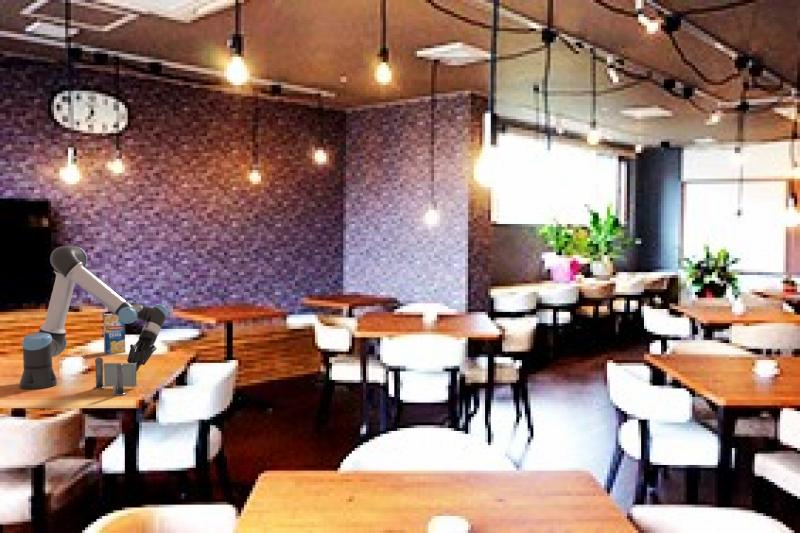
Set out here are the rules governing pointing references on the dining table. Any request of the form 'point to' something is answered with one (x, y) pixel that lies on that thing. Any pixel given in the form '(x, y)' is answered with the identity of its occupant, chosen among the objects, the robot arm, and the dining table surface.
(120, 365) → the latch post
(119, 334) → the blue cracker box
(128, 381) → the gate
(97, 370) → the hinge post
